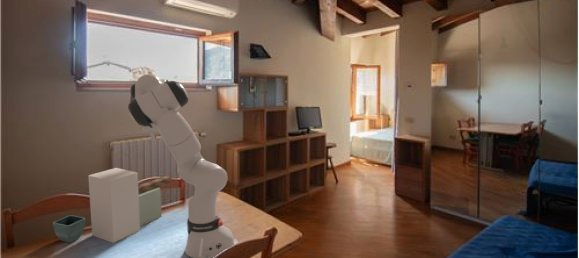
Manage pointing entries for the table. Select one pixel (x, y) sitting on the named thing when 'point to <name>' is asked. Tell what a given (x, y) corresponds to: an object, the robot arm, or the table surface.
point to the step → (149, 206)
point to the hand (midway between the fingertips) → (160, 138)
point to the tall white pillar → (114, 204)
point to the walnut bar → (153, 184)
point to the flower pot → (69, 228)
